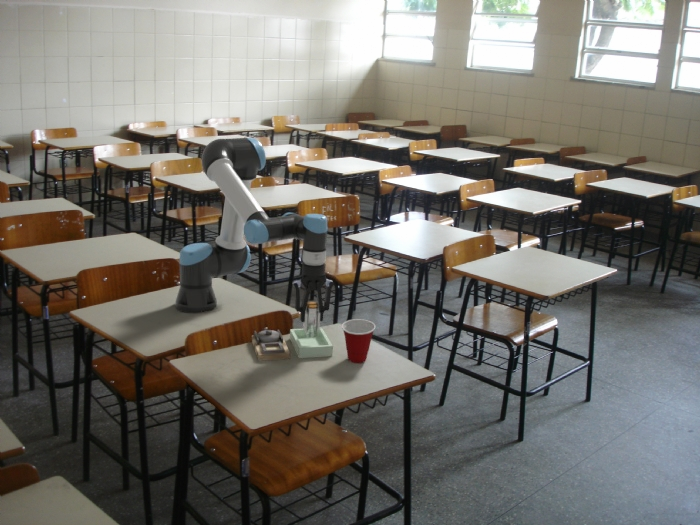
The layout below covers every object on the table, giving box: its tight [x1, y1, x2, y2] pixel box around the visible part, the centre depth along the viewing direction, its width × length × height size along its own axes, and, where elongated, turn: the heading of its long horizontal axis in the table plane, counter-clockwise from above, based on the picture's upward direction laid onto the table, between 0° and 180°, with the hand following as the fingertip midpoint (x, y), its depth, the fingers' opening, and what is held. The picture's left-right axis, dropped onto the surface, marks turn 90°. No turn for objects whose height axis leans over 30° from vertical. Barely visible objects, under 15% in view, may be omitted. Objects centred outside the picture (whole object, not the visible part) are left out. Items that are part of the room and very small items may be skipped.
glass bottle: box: [306, 301, 319, 337], centre depth 232 cm, size 4×4×11 cm
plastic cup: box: [341, 318, 376, 364], centre depth 226 cm, size 11×11×12 cm
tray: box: [289, 327, 334, 359], centre depth 235 cm, size 16×11×4 cm
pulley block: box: [251, 329, 291, 362], centre depth 231 cm, size 16×10×5 cm, turn 15°
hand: (311, 330), depth 233 cm, fingers closed on glass bottle, 3 cm apart
